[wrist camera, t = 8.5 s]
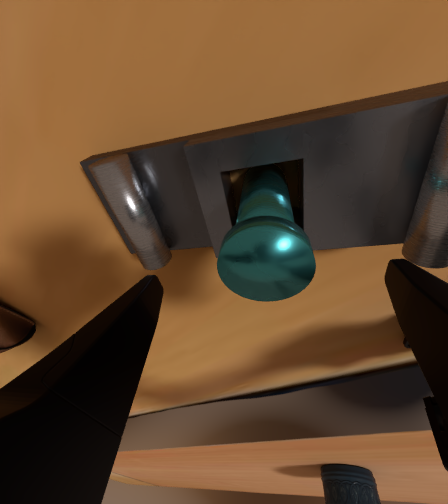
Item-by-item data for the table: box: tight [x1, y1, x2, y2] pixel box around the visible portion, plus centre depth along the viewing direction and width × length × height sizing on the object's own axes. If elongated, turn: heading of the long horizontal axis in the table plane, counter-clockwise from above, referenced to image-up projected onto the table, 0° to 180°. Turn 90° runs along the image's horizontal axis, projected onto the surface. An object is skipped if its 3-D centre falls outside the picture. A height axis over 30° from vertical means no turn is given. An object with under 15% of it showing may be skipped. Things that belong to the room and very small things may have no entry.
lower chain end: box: [80, 106, 333, 270], centre depth 16 cm, size 8×16×4 cm, turn 102°
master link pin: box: [217, 163, 316, 301], centre depth 13 cm, size 4×4×9 cm
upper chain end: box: [183, 81, 448, 268], centre depth 14 cm, size 8×16×5 cm, turn 102°
